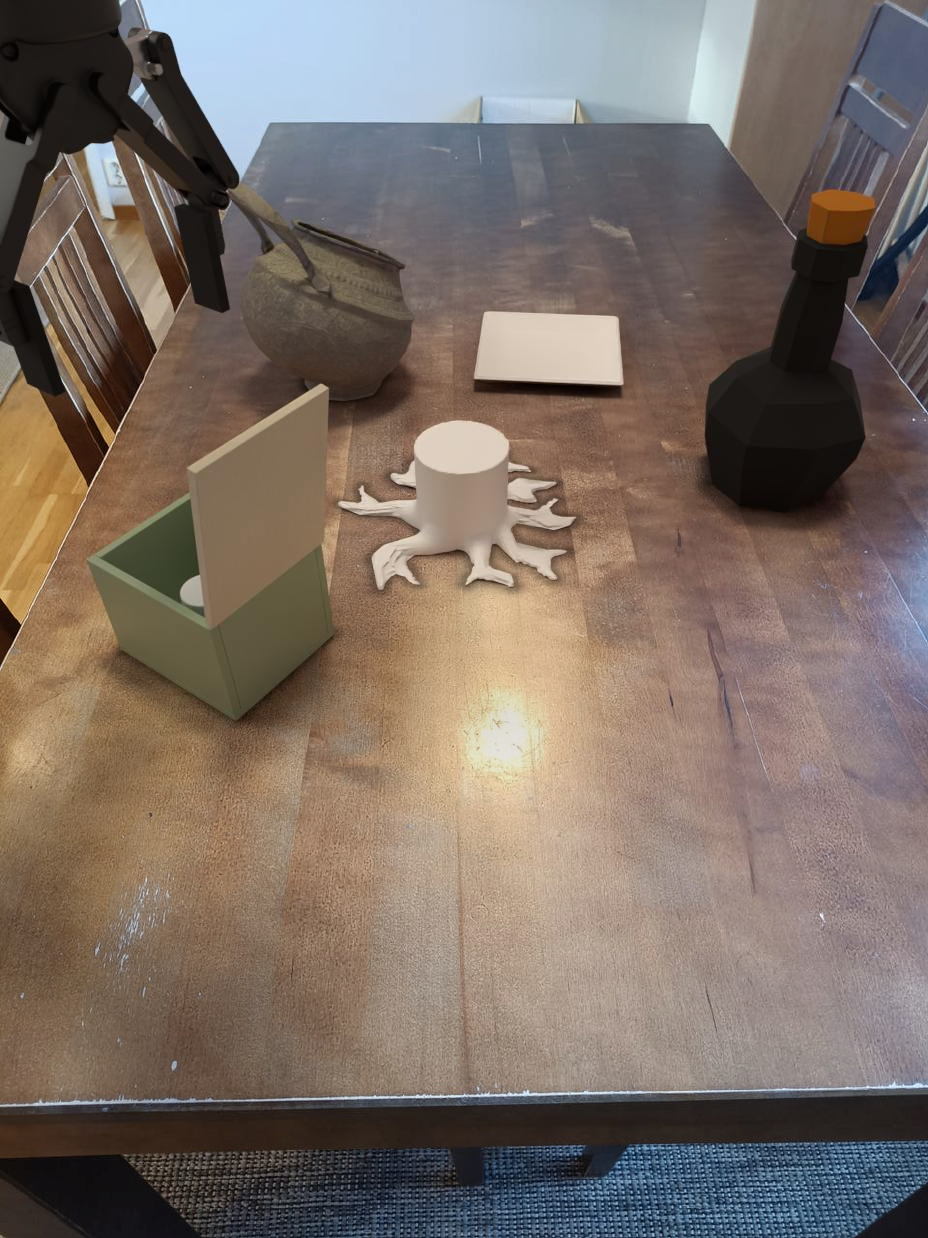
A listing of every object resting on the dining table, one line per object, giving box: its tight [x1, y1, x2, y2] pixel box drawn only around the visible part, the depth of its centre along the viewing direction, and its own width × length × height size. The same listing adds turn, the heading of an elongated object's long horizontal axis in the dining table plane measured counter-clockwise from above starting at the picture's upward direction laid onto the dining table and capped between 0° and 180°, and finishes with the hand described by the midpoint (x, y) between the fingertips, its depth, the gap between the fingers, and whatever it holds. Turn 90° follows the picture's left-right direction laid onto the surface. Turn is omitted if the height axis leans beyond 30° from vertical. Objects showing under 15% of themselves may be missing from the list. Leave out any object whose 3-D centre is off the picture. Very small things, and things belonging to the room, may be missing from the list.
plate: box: [473, 310, 625, 388], centre depth 119 cm, size 19×19×2 cm
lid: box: [186, 384, 330, 628], centre depth 65 cm, size 15×13×1 cm
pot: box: [227, 181, 416, 402], centre depth 106 cm, size 21×21×25 cm
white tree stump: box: [337, 420, 577, 591], centre depth 92 cm, size 23×25×9 cm
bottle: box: [704, 188, 876, 513], centre depth 89 cm, size 16×16×30 cm
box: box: [86, 491, 335, 722], centre depth 78 cm, size 15×13×11 cm
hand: (135, 344), depth 58 cm, fingers open, 13 cm apart
